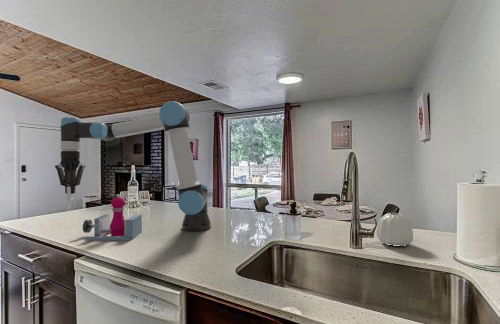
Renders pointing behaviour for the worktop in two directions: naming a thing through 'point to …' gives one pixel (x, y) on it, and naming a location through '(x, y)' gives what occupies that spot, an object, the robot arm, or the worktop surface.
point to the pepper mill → (118, 217)
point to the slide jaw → (98, 225)
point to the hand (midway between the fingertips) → (70, 200)
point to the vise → (131, 230)
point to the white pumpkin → (394, 229)
